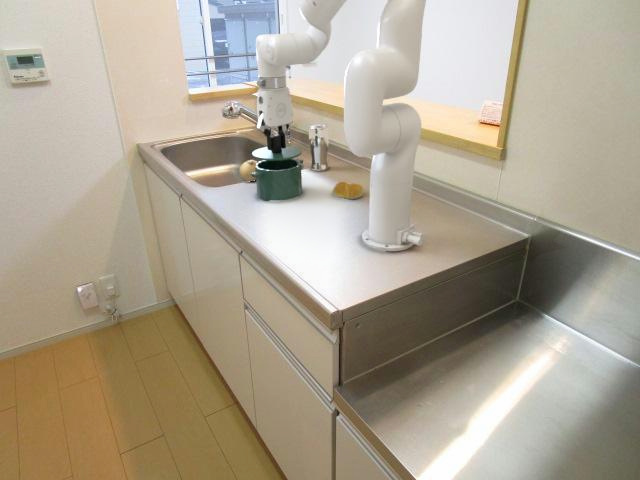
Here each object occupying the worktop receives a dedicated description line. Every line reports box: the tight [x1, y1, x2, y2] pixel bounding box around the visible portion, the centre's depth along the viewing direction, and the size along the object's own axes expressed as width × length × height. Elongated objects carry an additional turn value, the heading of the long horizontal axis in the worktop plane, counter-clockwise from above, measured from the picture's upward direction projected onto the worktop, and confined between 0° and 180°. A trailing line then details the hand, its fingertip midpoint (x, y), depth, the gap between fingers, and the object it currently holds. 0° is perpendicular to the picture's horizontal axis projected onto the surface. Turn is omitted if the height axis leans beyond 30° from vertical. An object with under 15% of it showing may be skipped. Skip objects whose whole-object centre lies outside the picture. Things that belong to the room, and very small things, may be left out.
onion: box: [238, 159, 259, 182], centre depth 150 cm, size 8×8×7 cm
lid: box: [251, 133, 303, 161], centre depth 132 cm, size 15×15×6 cm
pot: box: [251, 158, 304, 202], centre depth 136 cm, size 14×19×10 cm
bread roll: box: [332, 181, 364, 200], centre depth 135 cm, size 8×9×4 cm
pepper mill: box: [308, 124, 330, 172], centre depth 158 cm, size 7×7×15 cm
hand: (276, 148), depth 132 cm, fingers closed on lid, 3 cm apart
